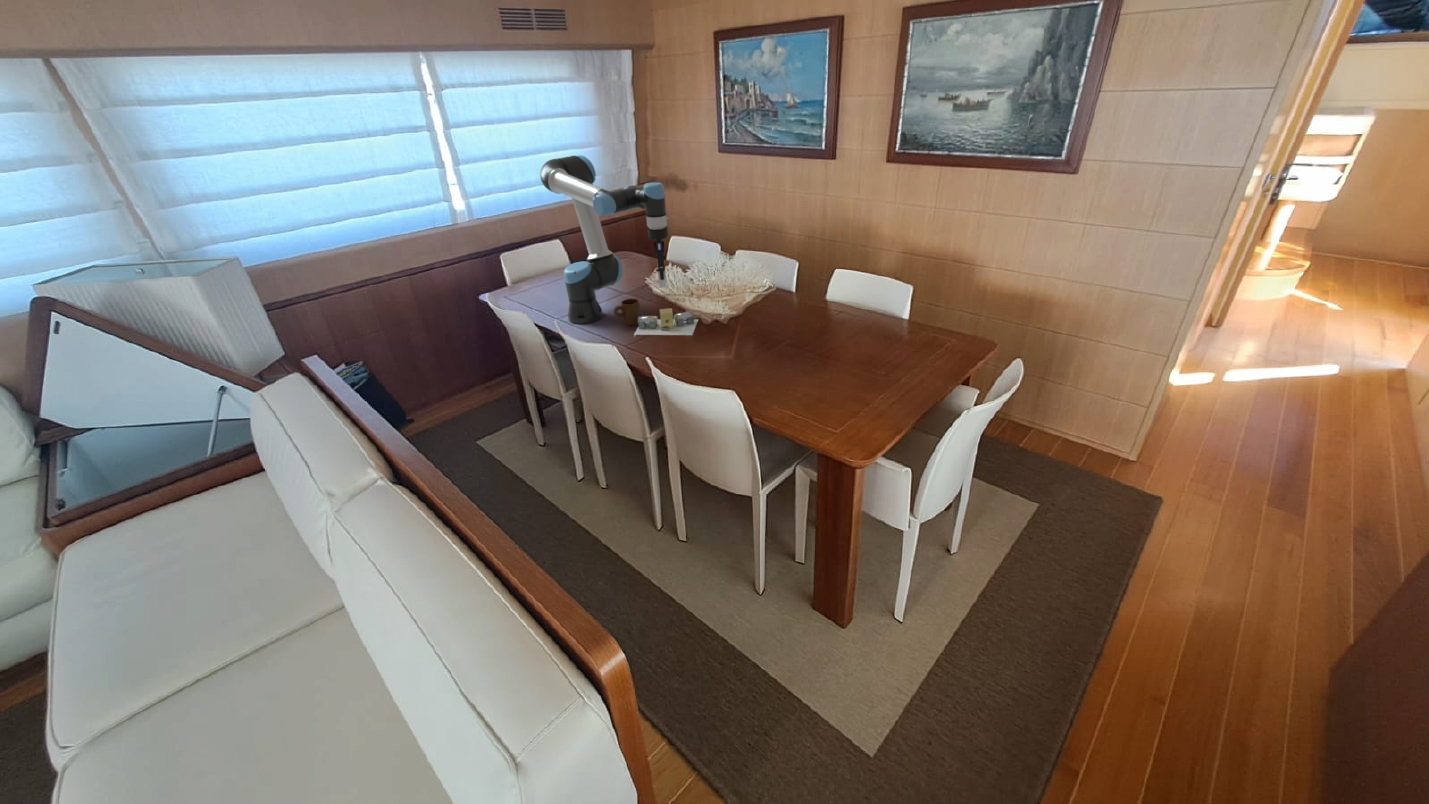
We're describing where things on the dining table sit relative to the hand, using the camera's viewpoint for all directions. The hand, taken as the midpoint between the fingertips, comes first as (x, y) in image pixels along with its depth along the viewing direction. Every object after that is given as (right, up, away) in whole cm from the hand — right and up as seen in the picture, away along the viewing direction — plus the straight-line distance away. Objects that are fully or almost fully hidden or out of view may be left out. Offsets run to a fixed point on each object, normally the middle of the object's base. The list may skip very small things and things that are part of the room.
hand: (662, 281), depth 216 cm
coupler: (+1, -17, +8) cm, 19 cm away
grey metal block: (+8, -15, +10) cm, 20 cm away
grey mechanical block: (-7, -17, +9) cm, 20 cm away
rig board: (+1, -18, +8) cm, 20 cm away
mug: (-16, -15, +16) cm, 27 cm away
